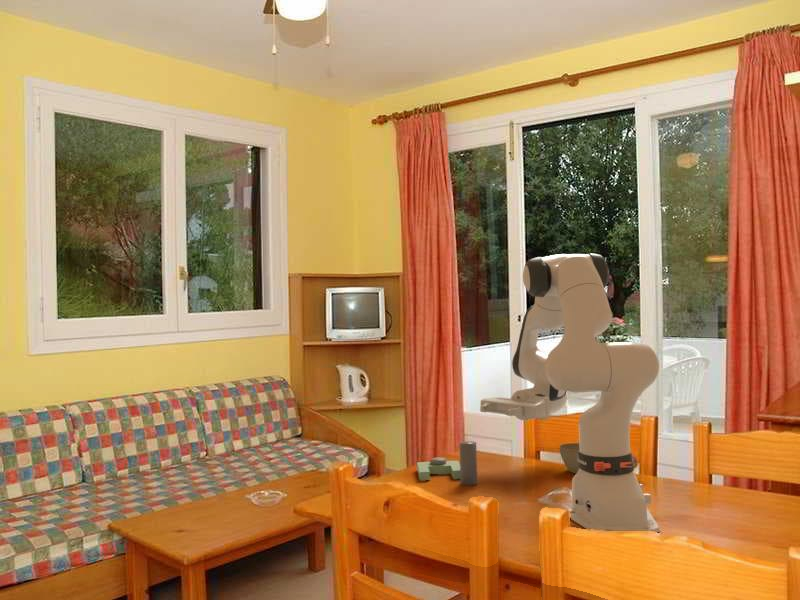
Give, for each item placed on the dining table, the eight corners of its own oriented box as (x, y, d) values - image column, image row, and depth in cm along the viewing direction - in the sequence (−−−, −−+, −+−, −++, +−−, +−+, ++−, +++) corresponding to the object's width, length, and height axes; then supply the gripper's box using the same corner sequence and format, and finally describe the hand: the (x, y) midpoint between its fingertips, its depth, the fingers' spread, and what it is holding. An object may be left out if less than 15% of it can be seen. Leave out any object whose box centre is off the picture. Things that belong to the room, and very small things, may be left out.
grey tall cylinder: (478, 485, 192) (477, 444, 192) (462, 486, 192) (460, 444, 192) (476, 481, 197) (474, 440, 197) (459, 481, 197) (458, 441, 197)
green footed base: (463, 478, 200) (462, 466, 200) (420, 480, 199) (419, 467, 199) (457, 468, 212) (457, 456, 212) (417, 470, 211) (416, 458, 211)
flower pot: (592, 466, 208) (592, 442, 208) (598, 475, 198) (598, 449, 198) (557, 467, 209) (556, 442, 209) (562, 475, 199) (561, 450, 199)
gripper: (497, 390, 219) (467, 396, 210) (553, 396, 204) (523, 403, 195) (498, 411, 220) (467, 418, 210) (554, 419, 204) (523, 426, 195)
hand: (494, 411), depth 202 cm, fingers open, 8 cm apart
